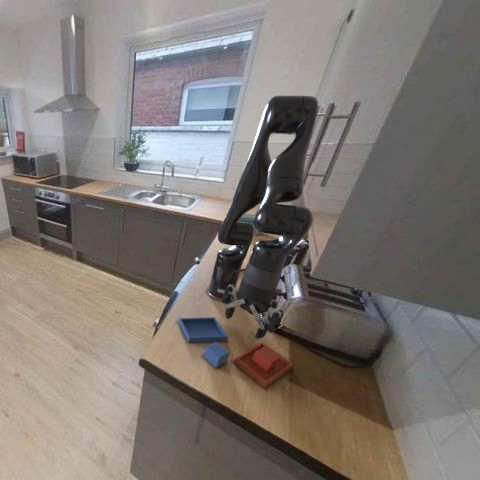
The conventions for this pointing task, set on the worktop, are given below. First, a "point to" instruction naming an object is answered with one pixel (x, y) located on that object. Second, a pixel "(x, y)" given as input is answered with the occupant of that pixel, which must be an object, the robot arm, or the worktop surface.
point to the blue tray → (202, 329)
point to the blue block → (216, 354)
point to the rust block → (265, 359)
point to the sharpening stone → (249, 219)
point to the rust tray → (256, 372)
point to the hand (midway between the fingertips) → (242, 326)
